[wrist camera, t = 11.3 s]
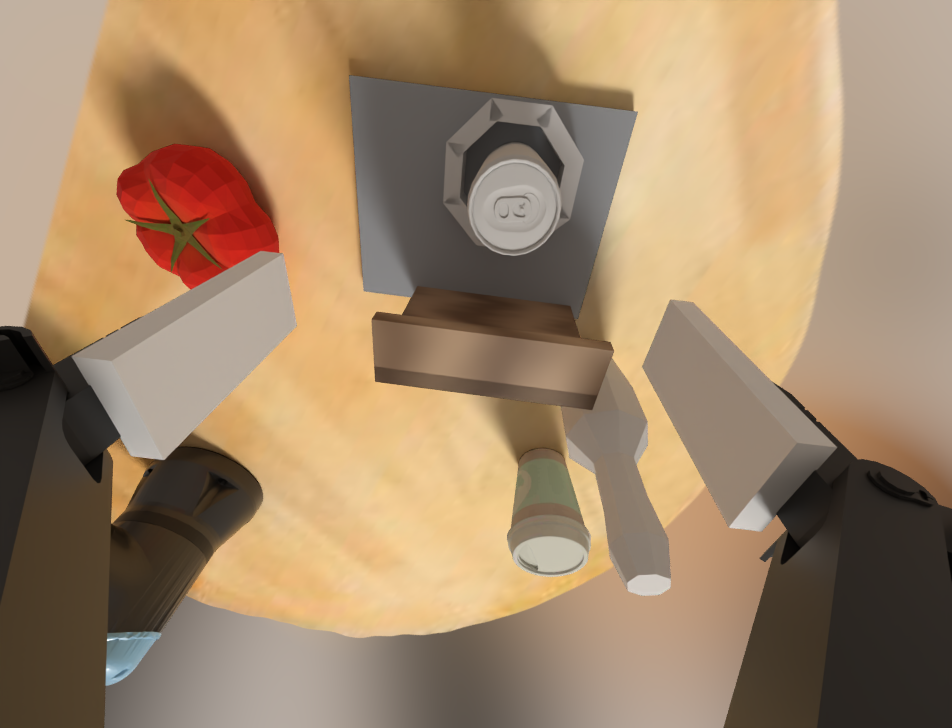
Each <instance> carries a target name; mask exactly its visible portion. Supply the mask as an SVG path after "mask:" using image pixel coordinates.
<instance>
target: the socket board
mask: <svg viewBox="0 0 952 728" xmlns="http://www.w3.org/2000/svg"><path fill="white" fill-rule="evenodd" d="M349 82H350V96H351V111H352V126H353V140H354V155H355V170H356V184H357V199H358V214H359V228H360V243H361V258H362V272H363V287H364V291H366V292H374V293H382V294H389V295H397V296H405V297H412V295H413V293H414V291H415V290H416V288H417V286H421V287H429V288H437V289H444V290H452V291H460V292H467V293H475V294H483V295H491V296H498V297H506V298H514V299H521V300H529V301H537V302H544V303H552V304H560V305H568V306H571V310H572V313H573V316H574V319H578V317H579V314H580V310H581V307H582V303H583V300H584V296H585V293H586V289H587V286H588V282H589V279H590V276H591V272H592V269H593V265H594V262H595V258H596V255H597V251H598V248H599V244H600V241H601V238H602V234H603V231H604V227H605V224H606V220H607V217H608V213H609V210H610V206H611V203H612V199H613V196H614V193H615V189H616V186H617V182H618V179H619V175H620V172H621V168H622V165H623V161H624V158H625V155H626V151H627V148H628V144H629V141H630V137H631V134H632V130H633V127H634V123H635V120H636V117H637V113H638V112H635V111H628V110H620V109H612V108H604V107H596V106H588V105H580V104H572V103H565V102H557V101H549V100H541V99H533V98H525V97H517V96H509V95H502V94H494V93H486V92H478V91H470V90H462V89H454V88H446V87H439V86H431V85H423V84H415V83H407V82H399V81H391V80H384V79H376V78H368V77H360V76H352V75H349ZM509 142H521V143H524V144H526V145H528V146H530V147H531V148H532V149H533V150H535V151H536V152H537V154H538V155H539V156H540V157H541V159H542V160H543V161H544V162H545V163H546V165H547V166H548V167H549V169H550V170H551V171H552V173H553V174H554V176H555V177H556V179H557V182H558V185H559V188H560V191H561V203H562V206H561V211H560V216H559V220H558V222H557V224H556V227H555V229H554V231H553V233H552V234H551V235H550V237H549V238H548V239H547V240H546V242H545V243H543V244H542V245H541V246H539V247H538V248H537V249H535V250H533V251H531V252H528V253H526V254H521V255H515V256H512V255H503V254H500V253H497V252H494V251H492V250H491V249H489V248H488V247H487V246H485V245H484V244H483V243H482V242H481V241H480V240H479V238H478V237H477V236H476V235H475V233H474V230H473V228H472V226H471V224H470V222H469V217H468V212H467V203H468V194H469V191H470V188H471V185H472V182H473V180H474V179H475V177H476V175H477V173H478V171H479V170H480V168H481V166H482V164H483V162H484V161H485V159H486V158H487V156H488V155H489V154H490V153H491V152H492V151H494V150H495V149H496V148H498V147H499V146H501V145H503V144H506V143H509Z"/></svg>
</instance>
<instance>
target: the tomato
mask: <svg viewBox="0 0 952 728" xmlns="http://www.w3.org/2000/svg"><path fill="white" fill-rule="evenodd" d="M116 195H117V197H118V199H119V201H120V203H121V205H122V207H123V209H124V210H125V211H126V213H127V214H128V215H129V216H130V217H131V218H132V219H134V220H135V221H131V220H126V221H129V222H131V223H134V224H136V235H137V237H138V238H139V240H140V241H141V243H142V244H143V246H144V249H145V251H146V252H147V253H148V254H149V255H150V257H151V258H152V259H153V260H154V261H155V263H156V264H157V265H158V266H160V267H161V268H163V269H165V270H167V271H169V272H171V273H173V274H176V275H178V276H180V278H181V279H182V281H183V283H184V284H185V285H186V286H187V287H188V288H190V289H193V288H195V287H197V286H199V285H200V284H202V283H204V282H206V281H208V280H209V279H211V278H213V277H215V276H217V275H218V274H220V273H222V272H224V271H226V270H227V269H229V268H231V267H233V266H235V265H236V264H238V263H240V262H242V261H244V260H245V259H247V258H249V257H251V256H253V255H254V254H256V253H258V252H260V251H266V252H274V253H279V240H278V235H277V233H276V230H275V228H274V226H273V224H272V221H271V219H270V218H269V217H268V216H267V214H266V213H265V212H264V211H263V210H262V209H261V208H260V207H259V206H258V205H257V203H256V202H255V200H254V198H253V195H252V193H251V191H250V188H249V186H248V184H247V182H246V181H245V179H244V178H243V177H242V176H241V174H240V173H239V172H238V171H237V170H236V168H235V167H234V166H233V165H232V164H231V163H230V162H229V161H228V160H226V159H225V158H223V157H222V156H220V155H219V154H217V153H216V152H214V151H213V150H211V149H210V148H204V147H197V146H189V145H181V144H172V145H170V146H167V147H164V148H161V149H158V150H156V151H153V152H151V153H150V154H149V155H147V156H146V157H145V158H144V159H143V160H142V161H141V162H140V163H139V164H137V165H135V166H132V167H130V168H128V169H126V170H123V172H122V173H121V175H120V176H119V178H118V181H117V194H116Z"/></svg>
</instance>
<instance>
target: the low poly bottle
mask: <svg viewBox="0 0 952 728" xmlns="http://www.w3.org/2000/svg"><path fill="white" fill-rule="evenodd" d="M561 411H562V417H563V423H564V429H565V435H566V441H567V446H568V452H569V458H570V459H572V460H574V461H575V462H577V463H578V464H580V465H582V466H583V467H585V468H586V469H588V470H589V471H591V472H593V473H594V474H595V475H596V480H597V484H598V488H599V493H600V497H601V501H602V505H603V510H604V516H605V523H606V531H607V539H608V547H609V554H610V559H611V561H612V563H613V565H614V566H615V568H616V570H617V572H618V574H619V576H620V578H621V579H622V581H623V583H624V585H625V587H626V589H627V590H628V591H629V592H632V593H635V594H639V595H641V596H642V595H660V594H661V593H663V592H665V591H666V590H668V589H669V588H670V583H671V576H670V575H671V574H670V557H669V541H668V537H667V535H666V533H665V531H664V529H663V527H662V525H661V523H660V521H659V519H658V517H657V515H656V512H655V510H654V508H653V506H652V504H651V502H650V500H649V498H648V496H647V493H646V490H645V488H644V485H643V482H642V479H641V476H640V474H639V471H638V468H637V465H636V464H637V463H638V461H639V459H640V458H641V456H642V454H643V452H644V451H645V449H646V447H647V446H648V423H647V419H646V417H645V415H644V412H643V410H642V408H641V406H640V403H639V401H638V399H637V397H636V394H635V392H634V390H633V387H632V386H631V385H630V383H629V382H628V380H627V379H626V377H625V376H624V375H623V373H622V372H621V370H620V369H619V367H618V366H617V365H616V363H615V362H614V360H613V359H612V358H611V361H610V364H609V366H608V369H607V372H606V374H605V377H604V380H603V383H602V385H601V388H600V391H599V393H598V396H597V399H596V401H595V404H594V407H593V410H587V409H579V408H572V407H564V406H561Z"/></svg>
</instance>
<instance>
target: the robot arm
mask: <svg viewBox="0 0 952 728" xmlns="http://www.w3.org/2000/svg"><path fill="white" fill-rule="evenodd" d="M296 326H297V323H296V318H295V313H294V307H293V302H292V297H291V292H290V286H289V281H288V276H287V271H286V265H285V260H284V255H283V254H282V253H274V252H266V251H260V252H258V253H256V254H254V255H253V256H251V257H249V258H247V259H245V260H244V261H242V262H240V263H238V264H236V265H235V266H233V267H231V268H229V269H227V270H226V271H224V272H222V273H220V274H218V275H217V276H215V277H213V278H211V279H209V280H208V281H206V282H204V283H202V284H200V285H199V286H197V287H195V288H193V289H191V290H190V291H188V292H186V293H184V294H182V295H181V296H179V297H177V298H175V299H173V300H172V301H170V302H168V303H166V304H164V305H163V306H161V307H159V308H157V309H155V310H154V311H152V312H150V313H148V314H146V315H145V316H142V317H139V318H137V319H136V320H134V321H132V322H130V323H128V324H126V325H125V326H123V327H121V329H120V330H116V331H114V332H112V333H110V334H108V335H107V336H106V337H105V338H101V339H99V340H98V341H96V342H94V343H92V344H90V345H89V346H87V347H85V348H83V349H81V350H80V351H78V352H76V353H74V354H72V355H70V356H69V357H67V358H65V359H63V360H61V361H60V362H58V363H56V364H54V365H53V364H52V363H51V361H50V360H49V358H48V357H47V355H46V354H45V352H44V350H43V349H42V347H41V346H40V344H39V343H38V341H37V340H36V338H35V336H34V335H33V333H32V332H31V330H29V329H26V328H23V327H15V326H14V327H13V326H1V327H0V728H104V716H105V687H106V685H111V684H114V683H116V682H119V681H120V680H122V679H124V678H125V677H126V676H128V675H129V674H130V673H131V672H132V671H133V670H134V669H135V667H136V666H137V665H138V663H139V662H140V660H141V659H142V658H143V657H144V655H145V654H146V653H147V651H148V650H149V648H150V647H151V646H152V644H153V643H154V641H155V640H157V639H158V638H159V637H160V636H161V634H162V633H161V632H162V631H163V629H164V628H165V626H166V625H167V623H168V622H169V620H170V619H171V617H172V616H173V614H174V613H175V611H176V609H177V608H178V606H179V605H180V603H181V602H182V600H183V599H184V597H185V596H186V594H187V593H188V591H189V590H190V588H191V587H192V585H193V584H194V582H195V581H196V579H197V578H198V576H199V575H200V573H201V572H202V570H203V569H204V567H205V566H206V564H207V563H208V561H209V560H210V558H211V557H212V555H213V554H214V552H215V551H216V550H217V549H218V548H219V547H220V546H221V545H222V544H224V543H225V542H226V541H227V540H228V539H229V538H230V537H232V536H233V535H234V534H235V533H236V532H237V531H238V530H239V529H240V528H241V527H243V526H244V525H245V524H246V523H248V522H249V521H250V520H251V519H252V518H253V516H254V515H255V513H256V512H257V510H258V509H259V507H260V505H261V504H262V501H263V493H262V490H261V488H260V486H259V484H258V482H257V481H256V480H255V479H254V477H253V476H252V475H251V474H250V473H249V472H247V471H246V470H245V469H244V468H243V467H241V466H240V465H238V464H237V463H235V462H233V461H232V460H230V459H228V458H226V457H224V456H221V455H219V454H216V453H214V452H211V451H207V450H203V449H199V448H192V447H178V446H179V445H180V444H181V443H182V441H183V440H184V439H185V438H186V437H187V436H188V435H189V434H190V433H191V432H192V431H193V430H194V429H195V428H196V427H197V426H198V425H199V424H200V423H201V422H202V421H203V420H204V419H205V418H206V417H207V416H208V415H209V414H210V413H211V412H212V411H213V410H214V409H215V408H216V407H217V406H218V405H219V404H220V403H221V402H222V401H223V400H224V399H225V398H226V397H227V396H228V395H229V394H230V393H231V392H232V391H233V390H234V389H235V388H236V387H237V386H238V385H239V384H240V383H241V382H242V381H243V380H244V379H245V378H246V377H247V376H248V375H249V374H250V373H251V372H252V371H253V370H254V369H255V368H256V367H257V366H258V365H259V364H260V363H261V362H262V361H263V360H264V359H265V358H266V357H267V356H268V355H269V354H270V353H271V352H272V351H273V349H274V348H275V347H276V346H277V345H278V344H279V343H280V342H281V341H282V340H283V339H284V338H285V337H286V336H287V335H288V334H289V333H290V332H291V331H292V330H293V329H294V328H295V327H296ZM642 367H643V369H644V371H645V373H646V375H647V377H648V379H649V380H650V382H651V384H652V386H653V388H654V390H655V392H656V393H657V395H658V397H659V399H660V401H661V403H662V405H663V406H664V408H665V410H666V412H667V414H668V416H669V418H670V419H671V421H672V423H673V425H674V427H675V429H676V431H677V432H678V434H679V436H680V438H681V440H682V442H683V444H684V445H685V447H686V449H687V451H688V453H689V455H690V457H691V458H692V460H693V462H694V464H695V466H696V468H697V470H698V471H699V473H700V475H701V477H702V479H703V481H704V483H705V484H706V486H707V488H708V490H709V492H710V494H711V496H712V497H713V499H714V501H715V503H716V505H717V507H718V508H719V510H720V512H721V514H722V516H723V518H724V520H725V521H726V523H727V525H728V527H729V528H737V529H746V530H754V531H763V529H764V528H765V527H766V526H767V525H768V524H769V523H770V522H771V521H772V520H773V518H774V517H775V516H776V515H778V517H779V518H780V520H781V522H782V523H783V524H784V526H785V527H786V529H787V530H786V531H785V532H784V533H783V534H782V535H781V536H780V537H779V538H778V539H777V540H776V541H775V542H774V543H773V544H772V545H771V546H770V548H769V549H768V550H767V551H766V552H765V553H764V554H763V555H762V556H761V557H760V559H761V560H763V561H764V562H766V560H768V558H770V557H772V561H771V564H770V568H769V571H768V575H767V578H766V582H765V585H764V589H763V592H762V596H761V599H760V603H759V606H758V610H757V613H756V617H755V620H754V623H753V627H752V631H751V634H750V637H749V641H748V645H747V648H746V651H745V655H744V658H743V662H742V665H741V669H740V672H739V676H738V679H737V683H736V686H735V689H734V693H733V696H732V700H731V703H730V707H729V710H728V714H727V717H726V721H725V725H724V728H952V509H950V508H947V507H944V506H941V505H938V503H937V501H936V499H935V498H934V497H933V496H932V495H931V494H930V493H929V492H928V491H927V490H926V489H925V488H924V487H923V486H921V485H920V484H918V483H917V482H915V481H914V480H913V479H911V478H910V477H908V476H907V475H905V474H903V473H901V472H899V471H897V470H895V469H893V468H891V467H888V466H886V465H883V464H880V463H878V462H874V461H869V460H864V459H861V460H858V459H857V458H856V457H855V456H854V455H853V454H852V453H851V452H850V451H848V449H847V448H846V447H845V446H844V445H843V444H841V443H840V442H839V441H838V440H837V439H836V438H835V437H834V436H833V435H832V434H831V433H830V432H829V431H828V430H827V429H826V428H825V427H824V426H823V425H822V424H821V423H820V422H816V418H815V417H814V416H813V415H812V414H811V413H810V412H809V411H808V410H805V407H804V406H803V405H802V404H801V403H800V402H799V401H798V400H797V399H796V398H795V397H794V396H793V395H792V394H790V393H789V392H787V391H786V390H784V389H783V388H781V387H779V386H778V385H776V384H775V383H773V382H772V381H771V380H770V379H769V378H768V377H767V376H766V375H765V374H764V373H763V372H762V371H761V370H760V369H759V368H758V367H757V366H756V365H755V364H754V363H753V362H752V361H751V360H750V359H749V358H748V357H747V356H746V355H745V354H744V353H743V352H742V351H741V350H740V349H739V348H738V347H737V346H736V345H735V344H734V343H733V342H732V341H731V340H730V339H729V338H728V337H727V336H726V335H725V334H724V333H723V332H722V331H721V330H720V329H719V328H718V327H717V326H716V325H715V324H714V323H713V322H712V321H711V320H710V319H709V318H708V317H707V316H706V315H705V314H704V313H703V312H702V311H701V310H700V309H699V308H698V307H697V306H696V305H695V304H694V303H693V302H687V301H678V300H670V301H669V304H668V306H667V309H666V311H665V313H664V316H663V318H662V321H661V323H660V325H659V328H658V330H657V332H656V335H655V337H654V340H653V342H652V344H651V347H650V349H649V352H648V354H647V356H646V359H645V361H644V364H643V366H642ZM119 438H121V440H122V442H123V443H124V445H125V447H126V448H127V450H128V452H129V453H130V455H131V456H134V457H142V458H151V459H155V460H154V461H153V462H152V463H151V464H150V465H149V466H148V468H147V469H146V471H145V473H144V475H143V478H142V479H141V481H140V483H139V485H138V486H137V488H136V490H135V492H134V494H133V496H132V498H131V500H130V502H129V504H128V506H127V508H126V510H125V511H124V512H123V513H122V514H121V515H120V516H119V517H118V518H117V519H116V520H115V521H114V523H113V524H111V507H112V477H113V460H112V457H111V455H110V453H109V452H108V450H107V448H108V447H109V446H110V445H111V444H113V443H114V442H115V441H116V440H117V439H119Z"/></svg>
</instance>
